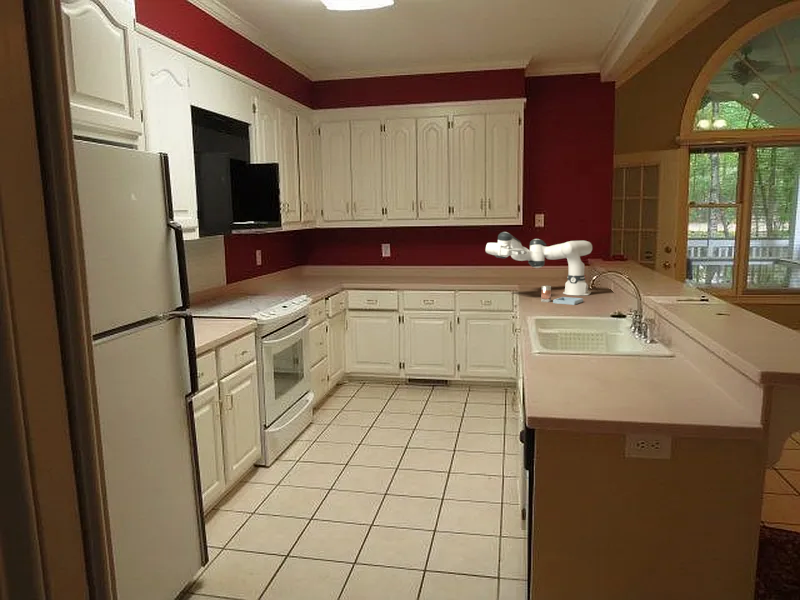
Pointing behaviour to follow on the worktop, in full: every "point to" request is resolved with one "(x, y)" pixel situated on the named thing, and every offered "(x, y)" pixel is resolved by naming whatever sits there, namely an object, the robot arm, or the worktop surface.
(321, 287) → the worktop surface
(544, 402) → the worktop surface
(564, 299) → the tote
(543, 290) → the clear glass cup
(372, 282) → the worktop surface
